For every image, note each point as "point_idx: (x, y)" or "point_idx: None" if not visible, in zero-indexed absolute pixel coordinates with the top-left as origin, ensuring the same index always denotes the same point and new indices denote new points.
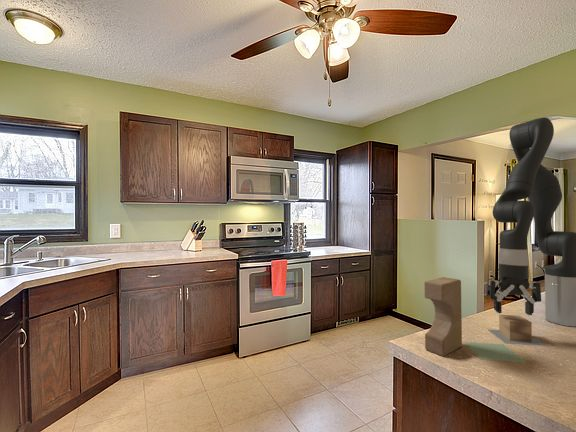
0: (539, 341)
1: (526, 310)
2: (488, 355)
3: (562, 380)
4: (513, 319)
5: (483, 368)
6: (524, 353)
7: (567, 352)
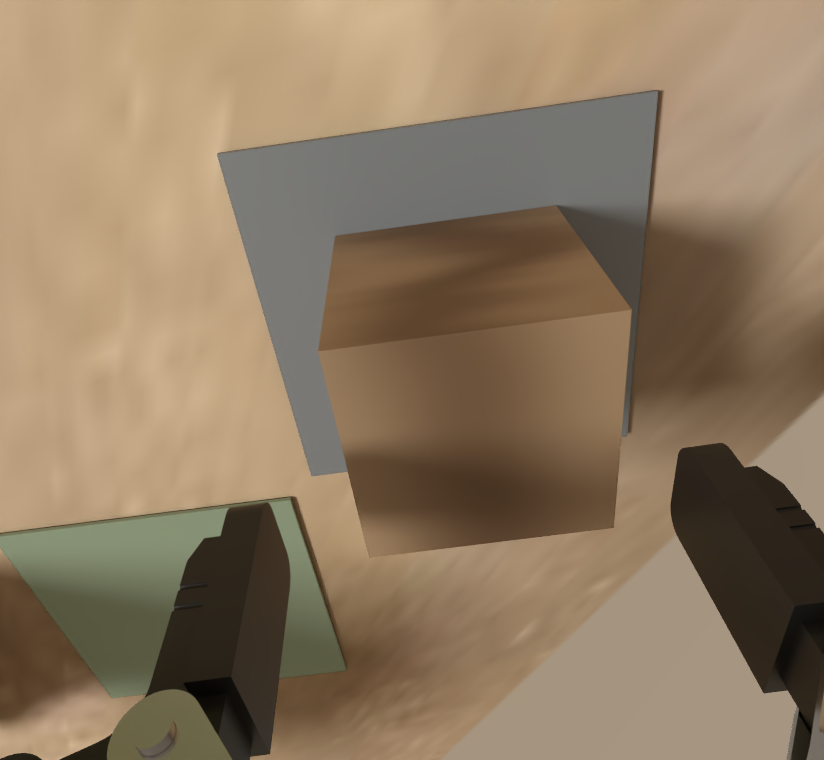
0: (632, 360)
1: (701, 504)
2: (156, 659)
3: (430, 740)
4: (442, 498)
5: None
6: (387, 574)
7: None
